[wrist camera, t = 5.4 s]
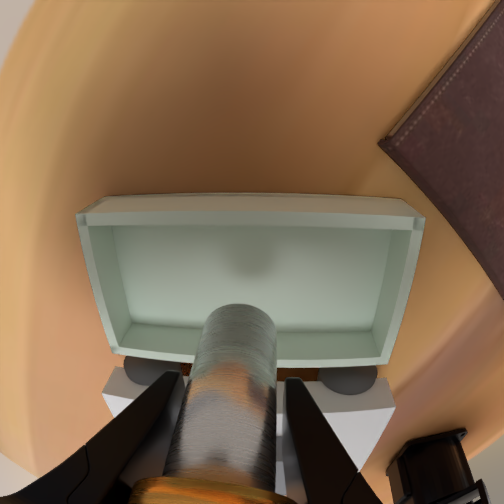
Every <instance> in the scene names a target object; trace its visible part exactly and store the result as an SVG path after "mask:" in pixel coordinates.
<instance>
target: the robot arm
mask: <svg viewBox="0 0 504 504" xmlns="http://www.w3.org/2000/svg"><path fill="white" fill-rule="evenodd" d="M185 389H186V388H185V383H184V379H183V375H182V373H181V372H180V371H174V370H167V371H165V372H164V373H163V374H162V375H161V376H160V377H159V378H158V379H157V380H155V381H154V382H153V383H152V384H151V385H150V386H149V387H148V388H147V389H146V390H145V391H143V392H142V393H141V394H140V395H139V396H138V397H137V398H136V399H135V400H134V401H132V402H131V403H130V404H129V405H128V406H127V407H126V408H125V409H124V410H123V411H121V412H120V413H119V414H118V415H117V416H116V417H115V418H114V419H112V420H111V421H110V422H109V423H108V424H107V425H106V426H105V427H103V428H102V429H101V430H100V431H99V432H98V433H97V434H96V435H94V436H93V437H92V438H91V439H90V440H89V441H88V442H87V443H86V445H83V446H82V447H81V448H79V449H78V450H77V451H76V452H75V453H74V454H72V455H71V456H70V457H69V458H67V459H66V460H65V461H64V462H62V463H61V464H60V465H58V466H57V467H55V468H54V469H53V470H51V471H50V472H48V473H47V474H45V475H44V476H42V477H40V478H39V479H37V480H36V481H34V482H33V483H31V484H30V485H28V486H27V487H25V488H23V489H21V490H20V491H18V492H16V493H13V494H11V495H8V496H3V497H0V504H128V501H129V497H130V494H131V491H132V487H133V484H134V483H135V482H136V481H137V480H140V479H143V478H148V477H162V473H163V469H164V466H165V462H166V458H167V454H168V451H169V447H170V443H171V440H172V436H173V432H174V429H175V425H176V421H177V418H178V414H179V411H180V407H181V404H182V400H183V396H184V393H185ZM467 433H468V432H467V430H466V428H464V429H460V430H457V431H453V432H449V433H445V434H441V435H436V436H432V437H427V438H423V439H418V440H413V441H410V442H408V443H406V445H405V446H404V447H403V449H402V450H401V452H400V453H399V454H398V456H397V457H396V459H395V460H394V461H393V463H392V464H391V465H390V467H389V468H388V469H387V471H386V476H389V481H390V486H391V492H392V497H393V502H394V504H465V503H466V504H491V501H490V498H489V495H488V492H487V489H486V486H485V484H484V482H483V481H482V479H480V480H478V481H476V483H475V482H474V480H473V476H472V473H471V470H470V468H469V465H468V462H467V459H466V456H465V453H464V451H463V448H462V445H461V443H460V442H461V440H462V439H463V438H464V437H465V435H466V434H467ZM282 458H283V467H284V476H285V485H286V494H287V497H288V498H290V499H292V500H294V501H295V502H297V503H298V504H383V503H382V502H381V501H380V499H379V498H378V497H377V496H376V494H375V493H374V492H373V490H372V489H371V487H370V486H369V485H368V483H367V482H366V480H365V479H364V477H363V476H362V474H361V472H358V468H357V467H356V465H355V463H354V462H353V460H352V459H351V457H350V456H349V454H348V453H347V451H346V449H345V448H344V446H343V445H342V443H341V442H340V440H339V438H338V437H337V435H336V434H335V432H334V431H333V429H332V427H331V426H330V424H329V423H328V421H327V419H326V418H325V416H324V415H323V413H322V411H321V410H320V408H319V407H318V405H317V403H316V402H315V400H314V399H313V397H312V395H311V394H310V392H309V391H308V389H307V387H306V386H305V384H304V382H303V381H302V379H301V378H299V377H287V378H286V379H285V382H284V392H283V415H282ZM478 496H480V498H481V499H479V500H478V501H476V502H473V501H472V500H473V499H474V498H476V497H478ZM469 501H470V502H469Z"/></svg>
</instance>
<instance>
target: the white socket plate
mask: <svg viewBox="0 0 504 504" xmlns="http://www.w3.org/2000/svg"><path fill="white" fill-rule="evenodd" d="M167 370H174V371H180V372H181V373H182V368H181V364H180V362H176V361H166V360H158V359H149V358H142V357H134V356H126V357H125V360H124V368H122V367H116V366H115V368H114V370H113V372H112V374H111V376H110V378H109V380H108V381H107V383H106V385H105V387H104V389H103V391H102V395H103V397H104V399H105V401H106V403H107V405H108V407H109V409H110V411H111V413H112V415H113V416H114V418H115V417H116V416H117V415H118V414H119V413H120V412H121V411H123V410H124V409H125V408H126V407H127V406H128V405H129V404H130V403H131V402H132V401H134V400H135V399H136V398H137V397H138V396H139V395H140V394H141V393H142V392H143V391H145V390H146V389H147V388H148V387H149V386H150V385H151V384H152V383H153V382H154V381H155V380H157V379H158V378H159V377H160V376H161V375H162V374H163V373H164V372H165V371H167ZM182 375H183V373H182ZM376 377H377V367H376V365H369V366H351V367H321V368H319V371H318V376H317V381H307V382H304V384H305V386H306V387H307V389H308V391H309V392H310V394H311V395H312V397H313V399H314V400H315V402H316V403H317V405H318V407H319V408H320V410H321V411H322V413H323V415H324V416H325V418H326V419H327V421H328V423H329V424H330V426H331V427H332V429H333V431H334V432H335V434H336V435H337V437H338V438H339V440H340V442H341V443H342V445H343V446H344V448H345V449H346V451H347V453H348V454H349V456H350V457H351V459H352V460H353V462H354V463H355V465H356V467H357V468H358V472H359V471H360V470H361V468H362V467H363V465H364V463H365V462H366V460H367V458H368V457H369V455H370V453H371V452H372V450H373V448H374V447H375V445H376V443H377V442H378V440H379V438H380V436H381V434H382V433H383V431H384V429H385V427H386V425H387V423H388V422H389V420H390V418H391V416H392V414H393V412H394V410H395V408H396V405H395V402H394V399H393V396H392V393H391V390H390V387H389V384H388V381H387V378H376ZM183 379H184V383H185V388H186V386H187V382H188V379H189V376H183ZM283 392H284V382H282V381H277V435H276V489H275V493H277V494H280V495H287V494H286V485H285V476H284V467H283V458H282V415H283Z"/></svg>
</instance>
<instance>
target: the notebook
mask: <svg viewBox="0 0 504 504" xmlns="http://www.w3.org/2000/svg"><path fill="white" fill-rule="evenodd" d="M385 138H386V139H387V140H382V139H381V140H380V141H379V142H378V145H379V146H380V147H381V148H382V149H383V150H384V151H385V152H386V153H387V154H388V155H389V156H390V157H391V158H392V159H393V160H394V161H395V162H396V163H397V164H398V165H399V166H400V167H401V168H402V169H403V170H404V171H405V172H406V173H407V175H408V176H409V177H410V178H411V179H412V180H413V181H414V182H415V183H416V184H417V185H418V187H419V188H420V189H421V190H422V191H423V192H424V193H425V194H426V196H427V197H428V198H429V199H430V200H431V201H432V203H433V204H434V205H435V206H436V207H437V208H438V210H439V211H440V212H441V213H442V214H443V216H444V217H445V218H446V219H447V221H448V222H449V223H450V224H451V226H452V227H453V228H454V229H455V231H456V232H457V233H458V235H459V236H460V237H461V239H462V240H463V241H464V243H465V244H466V245H467V247H468V248H469V249H470V251H471V252H472V253H473V255H474V256H475V258H476V259H477V260H478V262H479V263H480V265H481V266H482V268H483V269H484V271H485V272H486V274H487V275H488V276H489V278H490V280H491V281H492V283H493V284H494V286H495V287H496V289H497V290H498V292H499V294H500V295H501V297H502V298H503V300H504V0H496V1H495V2H494V4H493V5H492V6H491V8H490V9H489V10H488V11H487V13H486V14H485V15H484V17H483V18H482V19H481V21H480V22H479V23H478V24H477V26H476V27H475V28H474V30H473V31H472V32H471V33H470V35H469V36H468V37H467V39H466V40H465V41H464V42H463V44H462V45H461V46H460V47H459V49H458V50H457V51H456V52H455V54H454V55H453V56H452V57H451V59H450V60H449V61H448V62H447V64H446V65H445V66H444V67H443V69H442V70H441V71H440V72H439V74H438V75H437V76H436V77H435V78H434V80H433V81H432V82H431V83H430V85H429V86H428V87H427V88H426V89H425V91H424V92H423V93H422V94H421V96H420V97H419V98H418V99H417V100H416V102H415V103H414V104H413V105H412V106H411V108H410V109H409V110H408V111H407V112H406V114H405V115H404V116H403V117H402V118H401V120H400V121H399V122H398V123H397V124H396V126H395V127H394V128H393V129H392V130H391V132H390V133H389V134H388V135H387V136H386V137H385Z"/></svg>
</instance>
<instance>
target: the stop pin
mask: <svg viewBox="0 0 504 504" xmlns="http://www.w3.org/2000/svg"><path fill="white" fill-rule="evenodd" d="M276 435H277V330H276V326H275V324H274V322H273V320H272V319H271V318H270V316H269V315H268V314H266V313H265V312H264V311H262V310H261V309H259V308H257V307H254V306H251V305H247V304H239V303H238V304H228V305H224V306H221V307H219V308H217V309H216V310H214V311H213V312H212V313H211V314H210V315H209V316H208V317H207V319H206V321H205V324H204V328H203V331H202V334H201V338H200V341H199V345H198V348H197V351H196V355H195V358H194V362H193V365H192V369H191V372H190V375H189V379H188V382H187V386H186V389H185V393H184V396H183V400H182V404H181V407H180V411H179V414H178V418H177V421H176V425H175V429H174V432H173V436H172V440H171V443H170V447H169V451H168V454H167V458H166V462H165V466H164V469H163V473H162V477H148V478H143V479H140V480H137V481H136V482H135V483H134V484H133V487H132V491H131V494H130V497H129V501H128V504H298V503H297V502H295V501H294V500H292V499H290V498H288V497H286V496H283V495H280V494H277V493H275V489H276Z"/></svg>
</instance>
